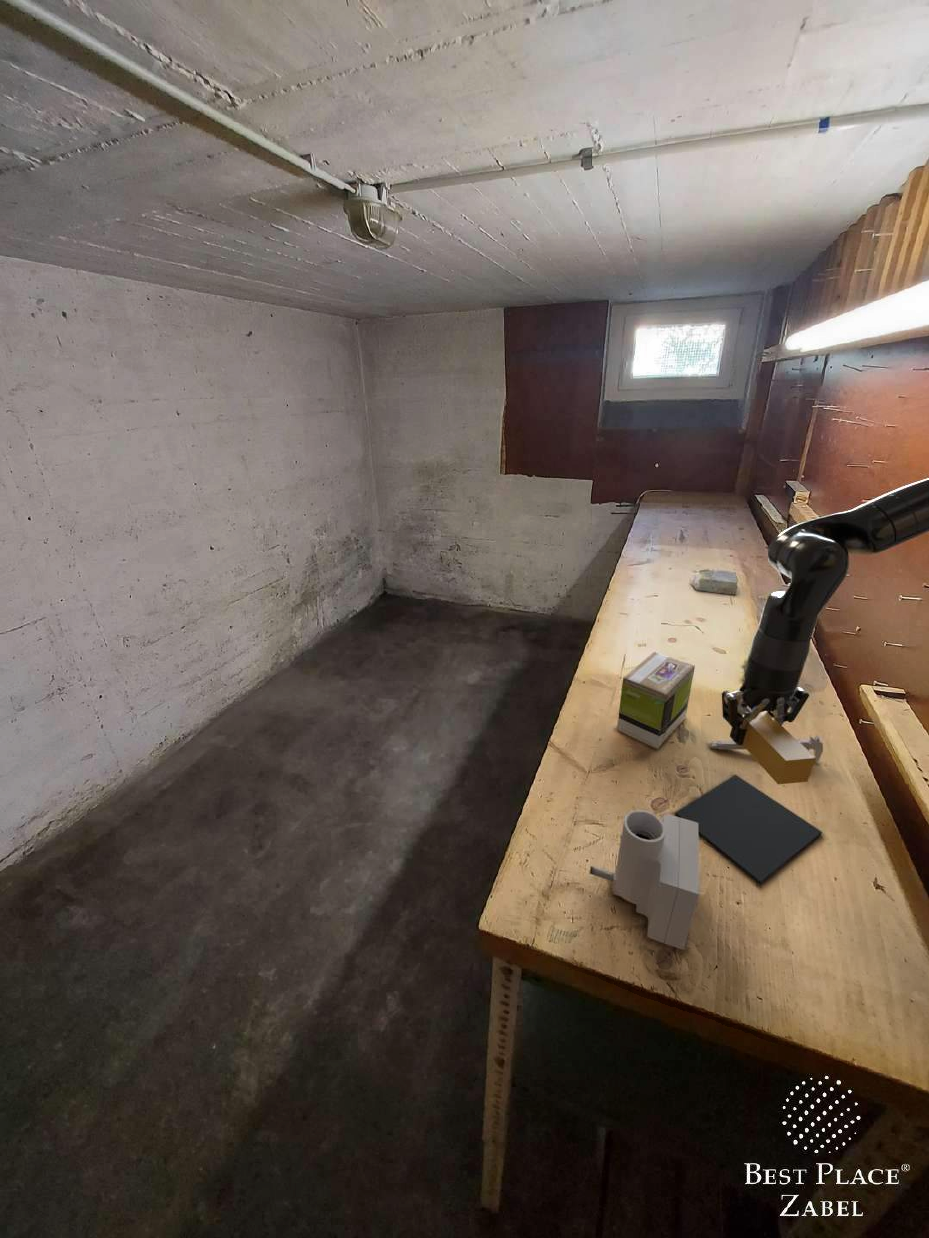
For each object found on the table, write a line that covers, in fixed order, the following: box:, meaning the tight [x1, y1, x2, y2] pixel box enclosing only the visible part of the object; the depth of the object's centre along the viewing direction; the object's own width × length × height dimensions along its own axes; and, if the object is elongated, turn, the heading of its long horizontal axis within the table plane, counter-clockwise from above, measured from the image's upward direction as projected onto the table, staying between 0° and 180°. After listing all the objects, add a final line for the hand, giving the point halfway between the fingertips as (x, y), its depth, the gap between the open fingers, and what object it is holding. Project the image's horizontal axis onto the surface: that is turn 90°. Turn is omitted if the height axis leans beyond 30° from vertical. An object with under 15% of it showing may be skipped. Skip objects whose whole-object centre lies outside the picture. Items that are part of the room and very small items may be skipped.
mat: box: [674, 774, 823, 885], centre depth 86 cm, size 18×16×1 cm
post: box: [741, 711, 816, 785], centre depth 79 cm, size 5×5×12 cm
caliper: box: [709, 734, 824, 762], centre depth 101 cm, size 20×1×6 cm, turn 76°
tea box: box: [616, 651, 696, 749], centre depth 108 cm, size 15×10×15 cm, turn 135°
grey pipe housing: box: [589, 809, 701, 951], centre depth 72 cm, size 12×14×15 cm
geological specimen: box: [691, 568, 739, 596], centre depth 181 cm, size 11×6×15 cm
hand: (751, 740), depth 83 cm, fingers closed on post, 4 cm apart
